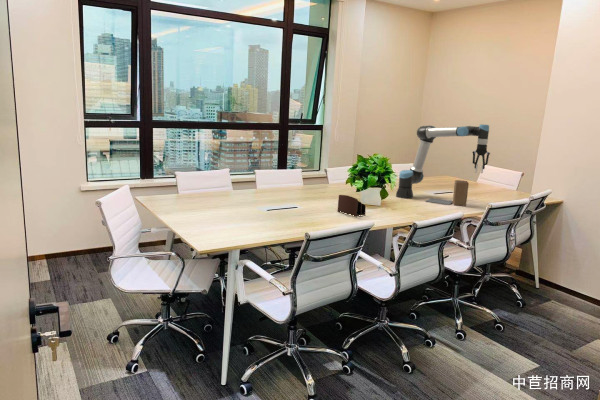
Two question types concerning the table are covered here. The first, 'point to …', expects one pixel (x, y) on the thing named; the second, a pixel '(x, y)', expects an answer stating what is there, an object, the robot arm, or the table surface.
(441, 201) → the mat
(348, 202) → the letter holder
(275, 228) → the table surface
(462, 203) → the wooden block
